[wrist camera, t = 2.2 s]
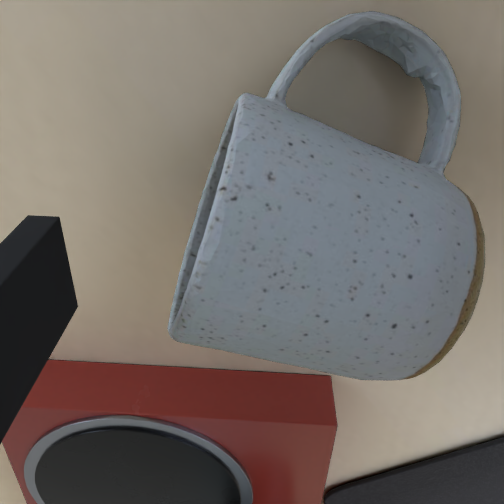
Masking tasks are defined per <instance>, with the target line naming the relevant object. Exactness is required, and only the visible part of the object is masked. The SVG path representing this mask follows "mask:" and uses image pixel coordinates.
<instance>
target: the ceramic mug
mask: <svg viewBox="0 0 504 504" xmlns="http://www.w3.org/2000/svg"><path fill="white" fill-rule="evenodd" d="M339 38H342V39H346V40H353V39H354V40H357V41H360V42H361V43H363V44H365V45H367V46H369V47H371V48H372V49H374V50H376V51H378V52H380V53H382V54H384V55H386V56H388V57H389V58H391V59H392V60H394V61H395V62H396V63H398V64H399V65H400V66H402V68H403V70H404V71H405V73H406V75H409V76H412V77H419V78H420V80H421V82H422V84H423V86H424V89H425V93H426V97H427V102H428V120H427V133H426V137H425V140H424V145H423V149H422V152H421V155H420V158H419V160H418V163H416V162H414V161H411V160H409V159H406V158H404V157H401V156H399V155H396V154H393V153H391V152H388V151H385V150H382V149H380V148H378V147H376V146H374V145H370V144H368V143H365V142H363V141H361V140H359V139H356V138H354V137H352V136H350V135H348V134H346V133H344V132H342V131H339V130H337V129H334V128H332V127H330V126H327V125H325V124H323V123H321V122H319V121H317V120H313V119H311V118H309V117H307V116H306V115H304V114H301V113H298V112H294V111H292V110H290V109H289V108H287V105H286V101H285V97H286V93H287V90H288V88H289V87H290V85H291V83H292V81H293V79H294V78H295V77H296V76H297V75H298V73H299V72H300V70H301V69H302V68H303V67H304V66H305V64H306V63H307V62H308V61H309V60H310V59H311V57H312V56H313V55H314V54H315V53H316V52H317V51H318V50H319V49H320V48H321V47H323V46H324V45H325V44H327V43H329V42H331V41H334V40H336V39H339ZM460 111H461V95H460V89H459V86H458V82H457V79H456V76H455V73H454V71H453V69H452V67H451V64H450V62H449V60H448V58H447V56H446V54H445V53H444V52H443V51H442V50H441V49H440V47H439V46H438V45H437V44H436V43H435V42H434V41H433V40H432V39H431V38H430V37H429V36H428V35H427V34H426V33H424V32H423V31H422V30H420V29H419V28H417V27H415V26H413V25H411V24H409V23H408V22H406V21H404V20H402V19H400V18H398V17H395V16H391V15H388V14H384V13H380V12H375V11H369V12H361V13H354V14H348V15H346V16H344V17H342V18H340V19H337V20H335V21H333V22H331V23H329V24H328V25H326V26H324V27H323V28H321V29H320V30H318V31H317V32H316V33H315V34H313V35H312V36H311V37H310V38H309V39H308V40H307V41H306V42H305V43H303V44H302V45H301V46H300V48H299V49H298V50H297V51H296V52H295V53H294V55H293V56H292V57H291V59H290V60H289V61H288V62H287V64H286V65H285V66H284V68H283V69H282V71H281V72H280V74H279V75H278V77H277V78H276V80H275V81H274V83H273V84H272V86H271V88H270V91H269V93H268V95H267V97H266V98H262V97H259V96H256V95H253V94H250V93H244V94H242V95H240V97H239V98H238V99H237V101H236V102H235V105H234V107H233V109H232V111H231V113H230V117H229V119H228V121H227V124H226V126H225V129H224V131H223V133H222V137H221V141H220V144H219V147H218V150H217V153H216V155H215V157H214V159H213V162H212V166H211V169H210V172H209V175H208V178H207V181H206V185H205V187H204V190H203V192H202V197H201V200H200V203H199V206H198V210H197V213H196V217H195V220H194V223H193V226H192V229H191V233H190V237H189V240H188V244H187V247H186V250H185V253H184V257H183V262H182V266H181V269H180V273H179V277H178V283H177V286H176V290H175V294H174V298H173V304H172V308H171V312H170V319H169V323H168V332H169V335H170V336H171V338H172V339H174V340H176V341H177V342H182V343H186V344H191V345H196V346H202V347H208V348H213V349H219V350H224V351H228V352H232V353H237V354H242V355H246V356H251V357H255V358H260V359H265V360H269V361H274V362H278V363H284V364H289V365H294V366H299V367H304V368H309V369H313V370H318V371H322V372H326V373H330V374H335V375H339V376H345V377H350V378H355V379H360V380H403V379H409V378H414V377H416V376H418V375H420V374H422V373H424V372H426V371H427V370H429V369H430V368H432V367H433V366H434V365H436V364H437V363H439V362H440V361H441V359H442V358H443V357H444V356H445V355H446V354H447V353H448V352H449V351H450V350H451V349H452V347H453V346H454V344H455V343H456V341H457V340H458V338H459V337H460V335H461V334H462V333H463V331H464V330H465V328H466V326H467V324H468V322H469V320H470V319H471V317H472V314H473V311H474V308H475V305H476V303H477V300H478V296H479V293H480V289H481V286H482V282H483V275H484V267H485V239H484V232H483V229H482V226H481V222H480V219H479V215H478V212H477V210H476V208H475V206H474V204H473V202H472V201H471V200H470V198H469V197H468V196H467V195H466V194H465V193H464V192H463V191H462V190H460V189H459V188H458V187H456V186H455V185H454V184H452V183H451V182H449V181H448V180H446V178H445V176H444V174H443V173H444V169H445V166H446V165H447V163H448V162H449V161H450V158H451V154H452V151H453V149H454V147H455V145H456V138H457V134H458V131H459V127H460Z"/></svg>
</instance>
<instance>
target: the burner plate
mask: <svg viewBox="0 0 504 504" xmlns="http://www.w3.org/2000/svg"><path fill="white" fill-rule="evenodd" d="M24 478H25V482H26V486H27V488H28V490H29V492H30V494H31V496H32V497H33V498H34V500H35V501H36V502H37V504H252V502H253V488H252V484H251V480H250V478H249V476H248V474H247V472H246V470H245V469H244V467H243V466H242V465H241V463H240V462H239V461H238V460H237V459H236V458H235V457H234V456H233V455H232V454H231V453H230V452H229V451H228V450H226V449H225V448H224V447H223V446H221V445H220V444H218V443H217V442H215V441H213V440H212V439H210V438H209V437H207V436H205V435H203V434H200V433H198V432H196V431H194V430H192V429H189V428H186V427H184V426H181V425H178V424H175V423H171V422H167V421H164V420H159V419H154V418H149V417H142V416H132V415H102V416H93V417H87V418H81V419H77V420H74V421H70V422H67V423H65V424H62V425H60V426H58V427H55V428H54V429H52V430H50V431H49V432H47V433H45V434H44V435H43V436H42V437H41V438H40V439H38V440H37V441H36V443H35V444H34V445H33V447H32V448H31V449H30V451H29V453H28V456H27V458H26V460H25V465H24Z"/></svg>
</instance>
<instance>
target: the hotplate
mask: <svg viewBox="0 0 504 504" xmlns="http://www.w3.org/2000/svg"><path fill="white" fill-rule="evenodd" d="M102 415H132V416H142V417H149V418H154V419H159V420H164V421H167V422H171V423H175V424H178V425H181V426H184V427H186V428H189V429H192V430H194V431H196V432H198V433H200V434H203V435H205V436H207V437H209V438H210V439H212V440H213V441H215V442H217V443H218V444H220V445H221V446H223V447H224V448H225V449H226V450H228V451H229V452H230V453H231V454H232V455H233V456H234V457H235V458H236V459H237V460H238V461H239V462H240V463H241V465H242V466H243V467H244V469H245V470H246V472H247V474H248V476H249V478H250V480H251V484H252V488H253V502H252V504H321V502H322V498H323V493H324V488H325V483H326V478H327V474H328V469H329V464H330V459H331V455H332V450H333V445H334V440H335V435H336V431H337V426H338V425H337V417H336V410H335V403H334V395H333V388H332V381H331V376H325V375H308V374H291V373H273V372H256V371H238V370H221V369H204V368H186V367H169V366H151V365H134V364H117V363H99V362H82V361H64V360H47V362H46V364H45V366H44V368H43V369H42V371H41V373H40V375H39V376H38V378H37V380H36V382H35V383H34V385H33V387H32V389H31V391H30V392H29V394H28V396H27V398H26V399H25V401H24V403H23V405H22V407H21V408H20V410H19V412H18V414H17V415H16V417H15V419H14V421H13V422H12V424H11V426H10V428H9V430H8V431H7V433H6V435H5V437H4V438H3V440H2V443H3V446H4V448H5V451H6V453H7V456H8V458H9V460H10V463H11V465H12V468H13V470H14V473H15V475H16V478H17V480H18V483H19V485H20V488H21V490H22V492H23V495H24V497H25V500H26V502H27V504H37V502H36V501H35V500H34V498H33V497H32V496H31V494H30V492H29V490H28V488H27V486H26V482H25V478H24V465H25V460H26V458H27V456H28V453H29V451H30V449H31V448H32V447H33V445H34V444H35V443H36V441H37V440H38V439H40V438H41V437H42V436H43V435H44V434H45V433H47V432H49V431H50V430H52V429H54V428H55V427H58V426H60V425H62V424H65V423H67V422H70V421H74V420H77V419H81V418H87V417H93V416H102Z"/></svg>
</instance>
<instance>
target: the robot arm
mask: <svg viewBox="0 0 504 504" xmlns="http://www.w3.org/2000/svg"><path fill="white" fill-rule="evenodd" d="M77 307H78V304H77V300H76V295H75V290H74V285H73V280H72V276H71V271H70V266H69V261H68V256H67V251H66V247H65V242H64V237H63V232H62V227H61V223H60V218H59V217H51V216H29V215H28V216H27V217H26V218H25V219H24V220H23V221H22V222H21V223H20V224H19V225H18V226H17V227H16V228H15V229H14V230H13V231H12V232H11V233H10V234H9V235H8V236H7V237H6V238H5V239H4V240H3V241H2V242H1V243H0V444H1V442H2V440H3V438H4V437H5V435H6V433H7V431H8V430H9V428H10V426H11V424H12V422H13V421H14V419H15V417H16V415H17V414H18V412H19V410H20V408H21V407H22V405H23V403H24V401H25V399H26V398H27V396H28V394H29V392H30V391H31V389H32V387H33V385H34V383H35V382H36V380H37V378H38V376H39V375H40V373H41V371H42V369H43V368H44V366H45V364H46V362H47V360H48V359H49V357H50V355H51V353H52V352H53V350H54V348H55V346H56V344H57V343H58V341H59V339H60V337H61V336H62V334H63V332H64V330H65V329H66V327H67V325H68V323H69V321H70V320H71V318H72V316H73V314H74V313H75V311H76V309H77Z"/></svg>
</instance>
